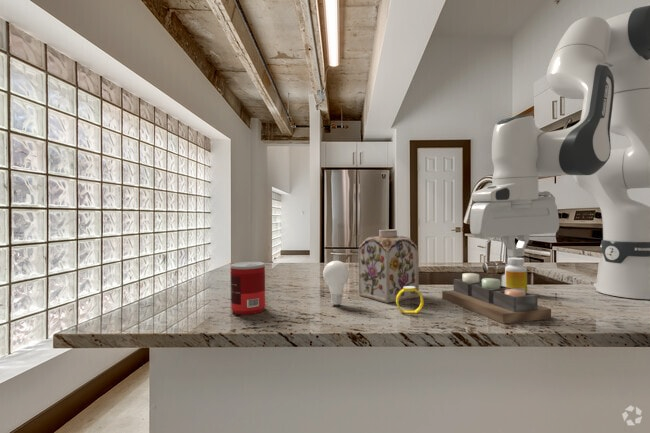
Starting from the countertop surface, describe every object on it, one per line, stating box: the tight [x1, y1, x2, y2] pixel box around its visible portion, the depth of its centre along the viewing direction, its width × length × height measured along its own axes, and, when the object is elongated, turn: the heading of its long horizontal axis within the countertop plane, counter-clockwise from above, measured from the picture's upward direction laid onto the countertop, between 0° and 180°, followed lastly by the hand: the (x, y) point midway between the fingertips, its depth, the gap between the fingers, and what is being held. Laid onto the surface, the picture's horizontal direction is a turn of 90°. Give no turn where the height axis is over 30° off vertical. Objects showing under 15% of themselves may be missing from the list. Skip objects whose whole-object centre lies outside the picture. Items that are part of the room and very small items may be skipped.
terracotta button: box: [505, 289, 525, 297], centre depth 81 cm, size 4×4×3 cm
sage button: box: [481, 277, 501, 289], centre depth 88 cm, size 4×4×3 cm
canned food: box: [230, 261, 266, 316], centre depth 89 cm, size 8×8×11 cm
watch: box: [395, 286, 425, 315], centre depth 85 cm, size 6×3×6 cm, turn 89°
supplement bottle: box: [504, 257, 528, 293], centre depth 102 cm, size 5×5×10 cm
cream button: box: [461, 272, 480, 283], centre depth 96 cm, size 4×4×3 cm
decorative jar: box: [357, 228, 420, 304], centre depth 101 cm, size 12×12×18 cm
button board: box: [441, 278, 552, 325], centre depth 88 cm, size 12×22×5 cm, turn 15°
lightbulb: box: [322, 260, 350, 307], centre depth 92 cm, size 6×6×11 cm
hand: (515, 256), depth 81 cm, fingers closed
